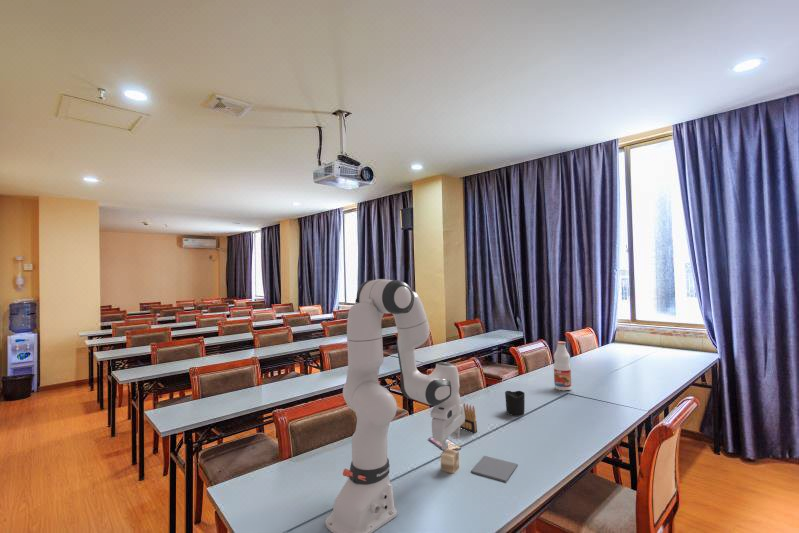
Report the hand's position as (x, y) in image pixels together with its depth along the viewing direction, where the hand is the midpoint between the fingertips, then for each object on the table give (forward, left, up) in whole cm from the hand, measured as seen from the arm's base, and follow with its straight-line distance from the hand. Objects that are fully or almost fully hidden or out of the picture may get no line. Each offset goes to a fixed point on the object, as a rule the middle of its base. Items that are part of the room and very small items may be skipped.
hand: (450, 443), depth 142 cm
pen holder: (+65, -4, -9) cm, 66 cm away
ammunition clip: (+34, +9, -9) cm, 37 cm away
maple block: (-1, 0, -9) cm, 9 cm away
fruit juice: (+116, -17, -9) cm, 118 cm away
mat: (+7, -14, -9) cm, 18 cm away
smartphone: (+16, +11, -10) cm, 22 cm away
